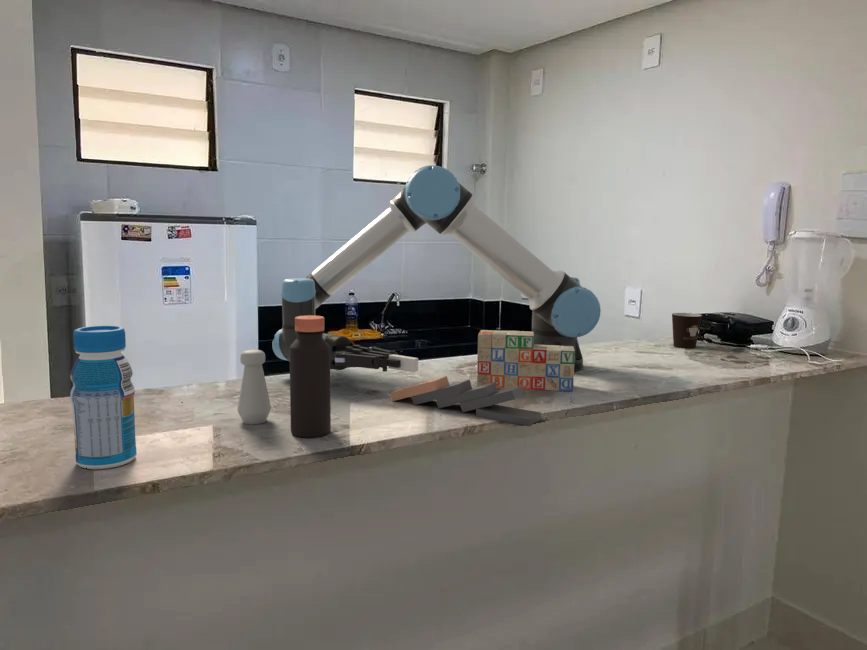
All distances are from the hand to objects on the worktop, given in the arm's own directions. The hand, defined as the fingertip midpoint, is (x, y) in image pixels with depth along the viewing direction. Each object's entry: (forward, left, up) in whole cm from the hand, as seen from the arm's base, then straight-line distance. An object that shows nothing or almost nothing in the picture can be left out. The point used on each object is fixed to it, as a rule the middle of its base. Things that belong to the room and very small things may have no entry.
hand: (415, 365), depth 135 cm
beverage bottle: (+51, +28, -8) cm, 59 cm away
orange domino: (+3, -2, -7) cm, 8 cm away
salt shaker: (+31, +10, -8) cm, 34 cm away
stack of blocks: (-27, -10, -8) cm, 30 cm away
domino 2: (-5, +4, -7) cm, 9 cm away
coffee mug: (-94, -53, -8) cm, 108 cm away
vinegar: (+21, +18, -8) cm, 29 cm away
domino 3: (-9, +8, -7) cm, 13 cm away
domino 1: (-1, +1, -7) cm, 7 cm away
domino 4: (-11, +11, -7) cm, 17 cm away
